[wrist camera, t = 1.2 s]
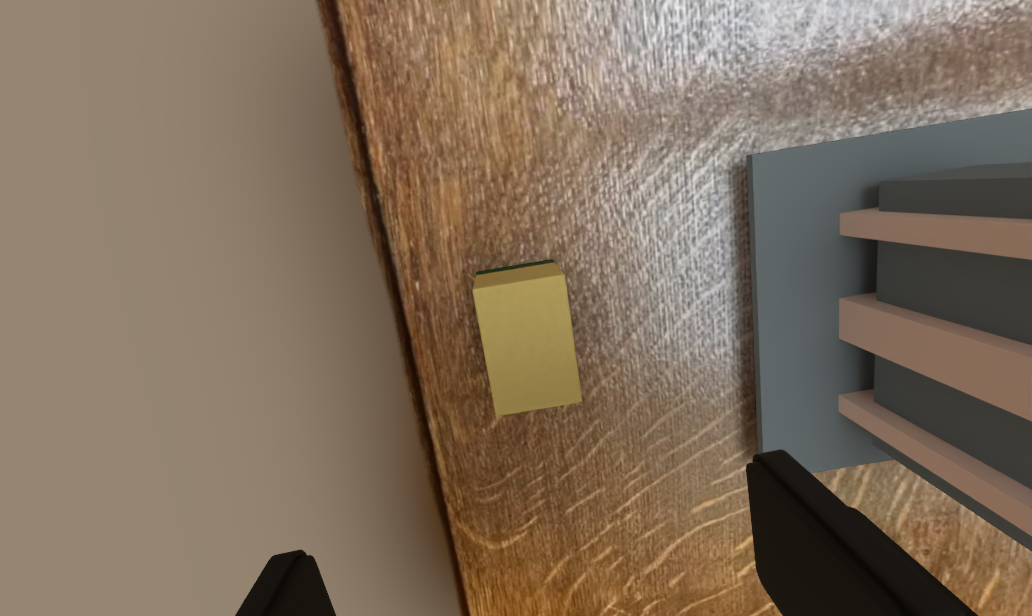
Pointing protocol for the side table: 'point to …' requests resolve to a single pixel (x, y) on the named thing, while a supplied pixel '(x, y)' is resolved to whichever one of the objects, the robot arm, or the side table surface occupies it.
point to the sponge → (527, 337)
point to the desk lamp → (901, 307)
